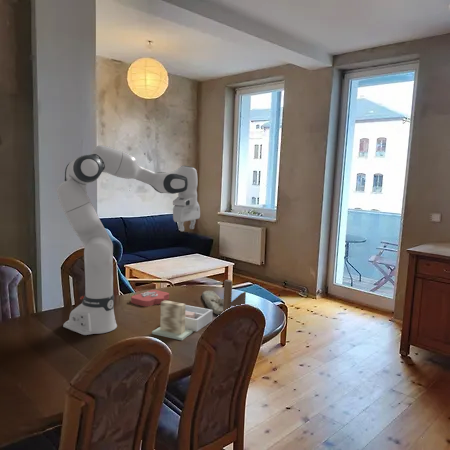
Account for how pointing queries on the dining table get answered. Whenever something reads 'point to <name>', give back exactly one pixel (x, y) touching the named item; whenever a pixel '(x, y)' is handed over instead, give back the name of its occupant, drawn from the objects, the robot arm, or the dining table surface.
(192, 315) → the upper offcut
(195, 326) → the white open box
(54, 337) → the dining table surface
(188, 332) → the sage pad
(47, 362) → the dining table surface
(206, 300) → the elongated rock
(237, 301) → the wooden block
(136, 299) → the plaque
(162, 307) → the birch board
